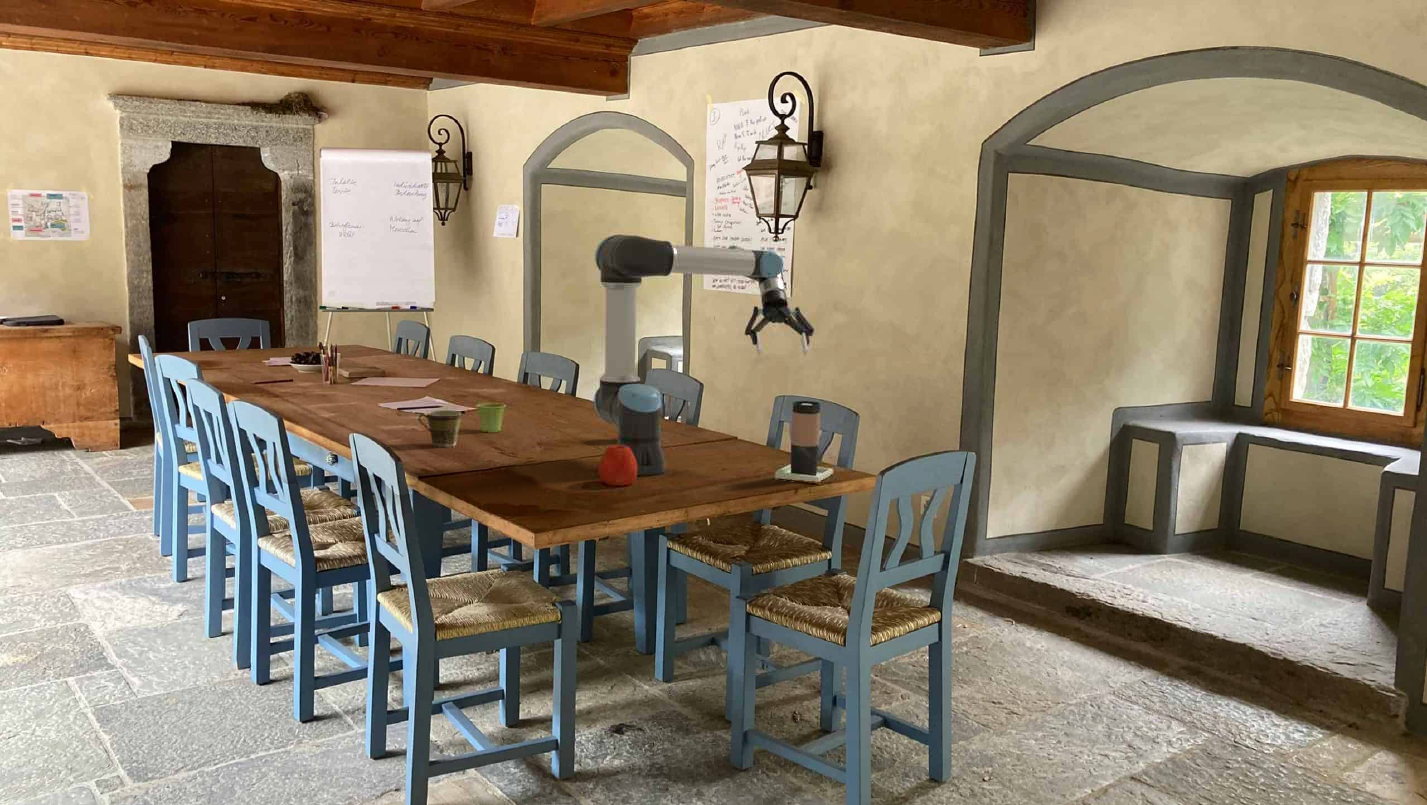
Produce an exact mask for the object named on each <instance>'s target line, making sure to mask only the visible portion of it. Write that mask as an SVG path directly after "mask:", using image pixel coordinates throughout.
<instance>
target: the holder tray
mask: <svg viewBox="0 0 1427 805" xmlns="http://www.w3.org/2000/svg"><path fill="white" fill-rule="evenodd" d="M831 474H833V475H834V468H830V467H829V468H828V467H820V466H817V474H816V476H810V475H801V474H793V473H791V463H790V464H788V465H786V466H784V467H782V468H780V469H778V470H776V471H775V472H774V479H775V478H781V479H792V480H804V481H815V482H820V481H821V480H823V479H825V478H827V477H829V476H830V475H831Z"/></svg>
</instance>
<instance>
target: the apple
mask: <svg viewBox="0 0 1427 805" xmlns="http://www.w3.org/2000/svg"><path fill="white" fill-rule="evenodd" d="M637 468H638V467H637V462H636V459H635V456H634V454H633V452H632V451H631V449H630V448H629V447H627V446H626V445H617V444H616V445H610V446H608V447H607V448H606V449H605V450H604V452H603V454H602V455H601V459H600V461H599V465H598V474H599V477H600V479H601V481H603V483H605V484H607V485H608V486H614V487H621V486H622V487H623V486H624V487H625V486H629V485H632V484H633V483H635V481H636V479H637V477H638V475H637Z"/></svg>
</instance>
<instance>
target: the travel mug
mask: <svg viewBox="0 0 1427 805" xmlns="http://www.w3.org/2000/svg"><path fill="white" fill-rule="evenodd" d="M820 414H821V403H820V402H816V401H812V400H811V401H810V400H799V401H798V400H797V401H793V402H792V414H791V418H792V419H791V434H790V436H791V438H790V464H791V473H793V474H801V475H810V476H816V474H817V467H818V463H819V462H818V460H819V447H820V421H821V420H820V419H821V418H820V417H821V415H820Z"/></svg>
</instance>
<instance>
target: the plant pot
mask: <svg viewBox="0 0 1427 805" xmlns="http://www.w3.org/2000/svg"><path fill="white" fill-rule="evenodd" d="M506 406H507V405H506V404H504V403H496V402H495V403H493V402H490V403H489V402H487V403H479V404H476V408H477V411H478V414H479V420H480V421H479V422H480V429H481V432H483V433H485V432H487V433H498V432H501V431H502V423H503V416H504V411H505V408H506Z"/></svg>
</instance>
